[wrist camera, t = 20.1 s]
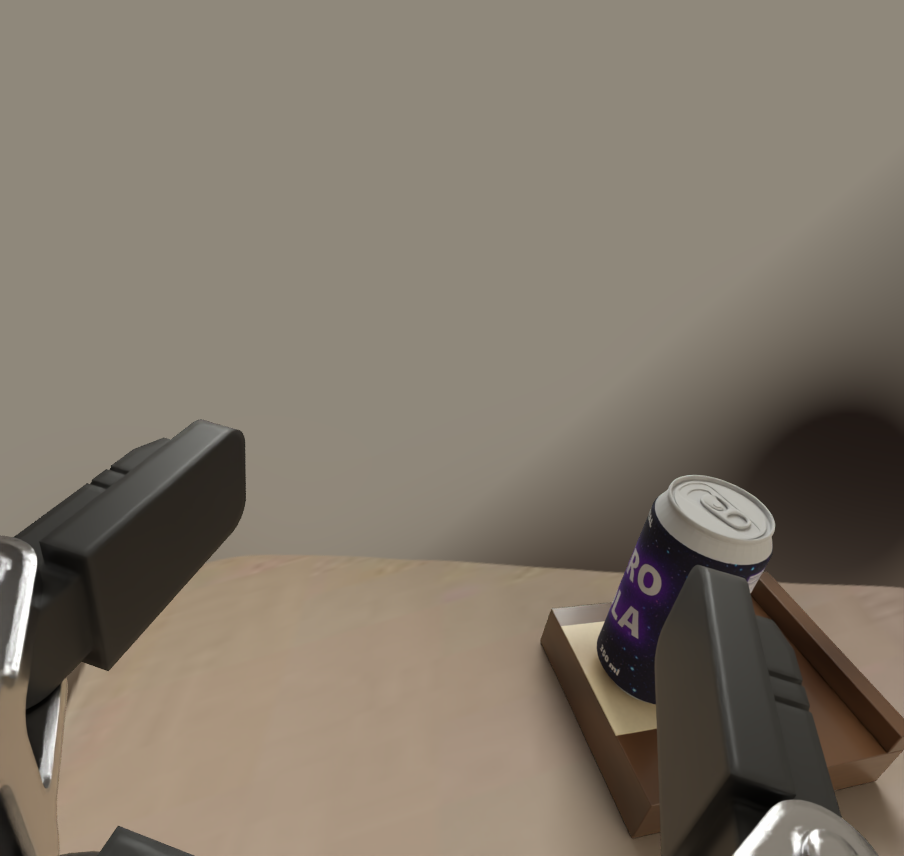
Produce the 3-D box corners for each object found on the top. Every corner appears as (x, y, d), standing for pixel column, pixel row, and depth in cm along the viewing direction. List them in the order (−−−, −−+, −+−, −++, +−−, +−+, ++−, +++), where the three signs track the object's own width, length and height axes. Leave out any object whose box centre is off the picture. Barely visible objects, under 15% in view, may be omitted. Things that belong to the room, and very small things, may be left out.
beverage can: (638, 618, 39) (709, 460, 33) (712, 690, 35) (809, 527, 29) (571, 650, 36) (636, 483, 30) (645, 733, 32) (736, 561, 26)
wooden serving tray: (539, 640, 40) (556, 590, 38) (741, 616, 45) (767, 571, 43) (631, 839, 30) (661, 788, 28) (876, 781, 35) (918, 733, 33)
